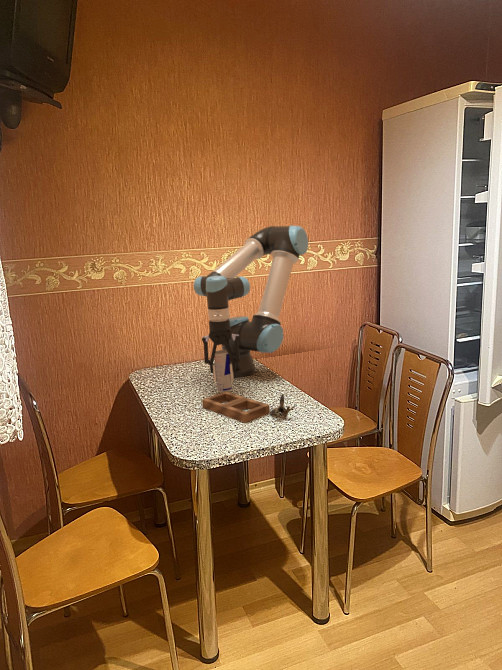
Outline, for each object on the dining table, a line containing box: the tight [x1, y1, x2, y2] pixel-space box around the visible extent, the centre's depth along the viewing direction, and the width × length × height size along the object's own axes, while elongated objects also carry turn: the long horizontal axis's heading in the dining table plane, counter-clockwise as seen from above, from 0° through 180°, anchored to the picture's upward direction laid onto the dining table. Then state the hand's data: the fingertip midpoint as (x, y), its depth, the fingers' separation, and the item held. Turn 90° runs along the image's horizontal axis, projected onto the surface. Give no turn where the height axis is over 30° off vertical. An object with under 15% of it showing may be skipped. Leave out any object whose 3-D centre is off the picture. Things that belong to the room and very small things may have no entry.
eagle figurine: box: [270, 393, 296, 420], centre depth 182 cm, size 8×7×9 cm
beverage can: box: [214, 349, 233, 393], centre depth 204 cm, size 6×6×15 cm
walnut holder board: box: [201, 391, 271, 424], centre depth 189 cm, size 22×11×3 cm, turn 43°
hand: (223, 380), depth 205 cm, fingers closed on beverage can, 5 cm apart
